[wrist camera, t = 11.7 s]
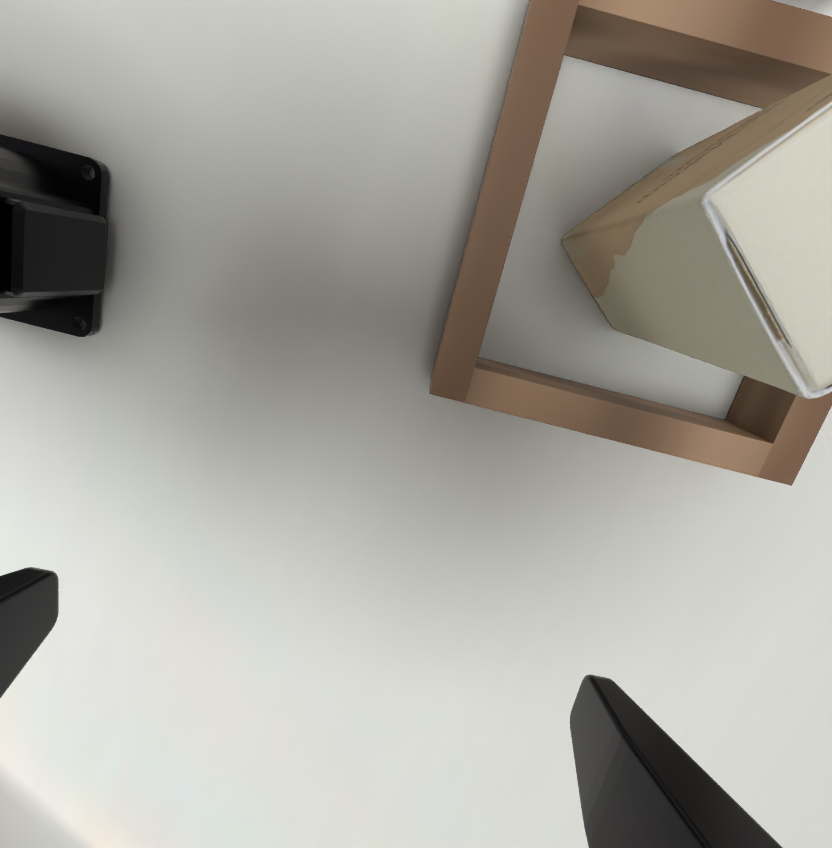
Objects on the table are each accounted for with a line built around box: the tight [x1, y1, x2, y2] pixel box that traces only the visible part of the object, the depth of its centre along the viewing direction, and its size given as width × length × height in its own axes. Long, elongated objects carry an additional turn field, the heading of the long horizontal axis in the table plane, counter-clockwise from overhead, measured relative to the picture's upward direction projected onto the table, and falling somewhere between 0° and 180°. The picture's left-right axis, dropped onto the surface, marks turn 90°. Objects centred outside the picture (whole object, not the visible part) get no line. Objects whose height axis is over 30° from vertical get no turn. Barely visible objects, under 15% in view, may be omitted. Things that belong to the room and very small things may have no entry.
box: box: [561, 74, 832, 399], centre depth 13 cm, size 5×4×11 cm
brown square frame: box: [430, 0, 832, 486], centre depth 17 cm, size 13×13×3 cm
